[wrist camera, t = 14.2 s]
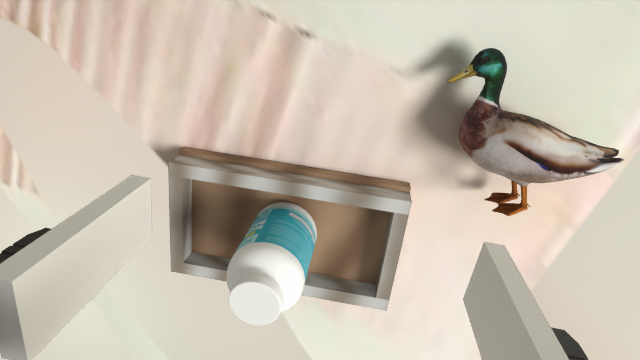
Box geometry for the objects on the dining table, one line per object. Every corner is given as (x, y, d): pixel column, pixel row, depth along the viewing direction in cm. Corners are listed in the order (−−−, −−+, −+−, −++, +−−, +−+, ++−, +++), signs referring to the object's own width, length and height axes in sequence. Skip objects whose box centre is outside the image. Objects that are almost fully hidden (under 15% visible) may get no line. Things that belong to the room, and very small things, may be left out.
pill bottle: (266, 190, 45) (225, 254, 33) (327, 213, 45) (309, 286, 33) (248, 242, 48) (204, 320, 36) (305, 264, 48) (281, 349, 36)
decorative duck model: (452, 52, 33) (660, 25, 30) (442, 54, 40) (609, 32, 37) (458, 221, 37) (644, 212, 34) (448, 196, 44) (601, 186, 41)
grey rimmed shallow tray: (185, 256, 52) (171, 274, 48) (184, 147, 46) (168, 158, 43) (385, 292, 50) (385, 314, 46) (409, 182, 44) (412, 197, 41)
